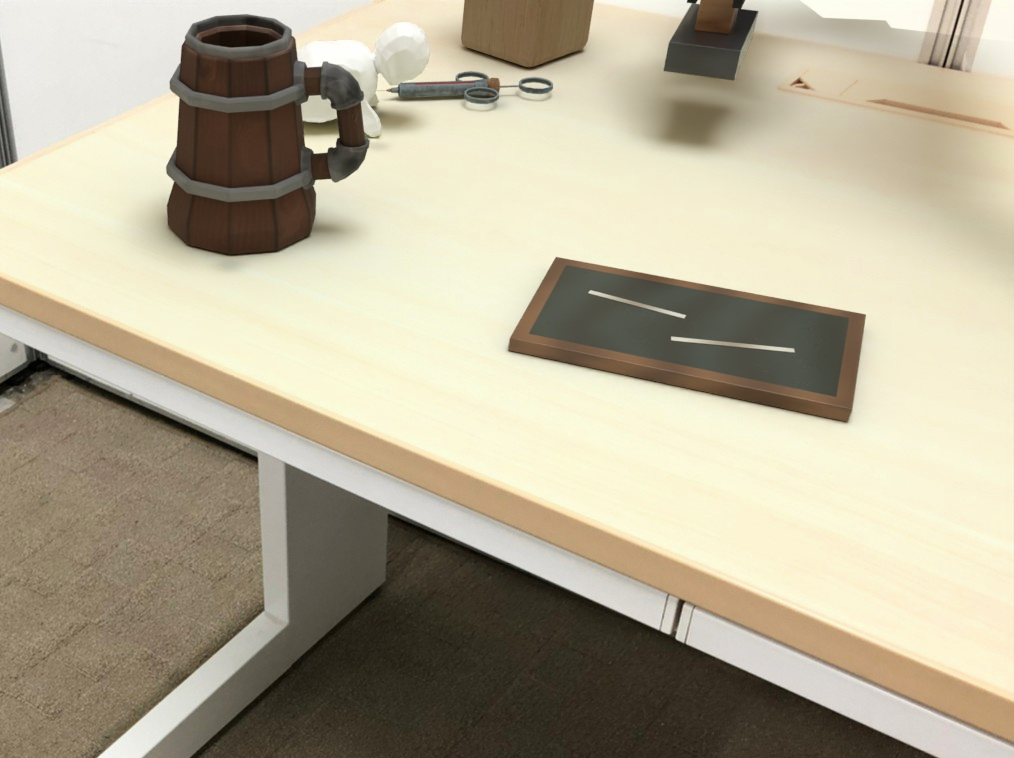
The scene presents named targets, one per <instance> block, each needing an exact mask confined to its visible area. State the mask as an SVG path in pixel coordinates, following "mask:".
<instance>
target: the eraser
mask: <svg viewBox="0 0 1014 758" xmlns="http://www.w3.org/2000/svg"><path fill="white" fill-rule="evenodd" d="M732 5H733V0H699V3H696V4H693V3H690V5H689V8H688V9H687V11H686V12H685V14H684V16H683V18H682V19H681V21H680V23H679V24H678V26H677V28H676V29H675V31H674V33H673V35H672V37H671V38H670V40H669V41H668V45H667V50H666V55H665V60H664V66H663V72H665V73H673V74H674V73H675V74H681V75H682V74H683V75H689V76H696V77H704V78H711V79H719V80H727V81H735V80H736V77H737V74H738V73H739V70H740V68H741V65H742V63H743V62H744V61H743V60H744V58H745V56H746V54H747V52H748V49H749V47H750V45H751V42H752V40H753V37H754V33H755V28H756V24H757V20H758V17H759V16H758V15H759V10H755V9H746V8H741V9H737V8H732Z"/></svg>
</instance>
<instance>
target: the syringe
mask: <svg viewBox="0 0 1014 758" xmlns="http://www.w3.org/2000/svg"><path fill="white" fill-rule="evenodd" d="M463 78H478V79H473V80H462V79H463ZM531 83H535V84H542V85H546V86H548V87H543V88H536V87H535V88H534V87H529V86H525V84H531ZM502 88H503V89H505V88H518V89H519V90H520V91H522V92H523V93H526V94H531V95H544V94H548V93H551V92H552V91H553V88H554V83H553V81H551V80H550V79H548V78H545V77H538V76H531V77H530V76H529V77H525V78H521V79H520V80H519V81H518V84H515V85H514V84H512V85H501V81H500V78H499V77H490V76H489V75H487V74H485V73H484V72H480V71H473V70H469V71H462V72H459V73H457V74H456V75H455V79H454V80H446V81H445V80H442V81H441V80H440V81H410V82H402V83H400V84H398V85H397V86H396V87H395V86H394V87H391V88H388V89H385V90H384V89H383V90H378V89H377V92H384V91H385V92H387V93H391V94H397V96H398V98H420V97H421V98H422V97H424V98H425V97H451V96H452V97H453V96H463V98H464V100H466V101H467V102H469V103H471V104H476V105H489V104H493V103H496V102H497V101H498V100H499V98H500V90H501V89H502ZM473 96H483V97H484V96H485V97H486V96H489V98H480V97H473Z"/></svg>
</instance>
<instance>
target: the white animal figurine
mask: <svg viewBox="0 0 1014 758" xmlns="http://www.w3.org/2000/svg"><path fill="white" fill-rule="evenodd" d="M430 55H431V47H430V45H429V41H428V39H427V35H426V32H425V31H424V30H423V28H421V27H420V26H419V25H417V24H415V23H412V22H408V21H407V22H406V21H399V22H395V23H394V24H392V25H390V26H389V27H387V28H385V30H383V32H381V34H380V35H379V36H378V38H377V40H376V41H375V51H373V52H372V51H371V50H370V48H369V47H368V46H367V45H365V44H364V43H363V42H361V41H358V40H354V39H339V40H337V39H336V40H332V41H329V40H326V41H325V40H324V41H323V40H313V41H310V42H308V43H306V44H304V45H303V46H302V47H300V48H299V49H298V50H297V58H298V61H302V62H305V63H306V65H307V67H322V64H323V61H327V62H328V63H331V64H336V65H339V66H341V67H342V68H344V69H345V70H347V71H348V72H350V73H351V74H352V76H353V77H354V78H355V79H356V80H357V81H358V83H359V86H360V89H361V91H363V93H364V99H363V101H361V108H362V117H363V126H364V134H366V135H367V136H368V137H371V138H377V137H380V135H381V133H382V123H381V119H380V117H379V115H378V114H377V113H376V111H375V110H374V109H373V107H376V106H378V105H379V103H380V101H379V98H378V95H377V91H378V81H379V79H378V75H379V74H381V76H382V77H383V78H384V79H385V81H386V82H387V83H388V85H389V86H391V87H392V86H394V87H395V86H398V84H400V83H405V82H407V81H412V80H415V79H417V78H418V77H419V76H420V75H422V73H423V72H424V71H425V70H426V68H427V66H428V64H429V61H430ZM301 109H302V120H303V122H307V123H318V124H321V123H325V122H330V121H333V120H335V119H336V120H337V112H336V110H335V109H332V108H331V102H330V100H329V99H326V100H322V98H321V95H315V96H309V98H308V101H307V102H304V103H302V104H301Z"/></svg>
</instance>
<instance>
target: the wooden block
mask: <svg viewBox="0 0 1014 758" xmlns="http://www.w3.org/2000/svg"><path fill="white" fill-rule="evenodd" d="M594 3H595V0H464V2H463V12H462V23H461V32H460V33H461V35H460V40H461V44H462V45H463V46H464V47H465V48H468V49H471V50H474V51H477V52H479V53H483V54H485V55H489V56H492V57H495V58H498V59H501V60H504V61H508V62H510V63H514V64H516V65H519V66H523V67H526V68H532V67H536V66H539V65H542V64H545V63H548V62H550V61H553V60H555V59H558V58H561V57H564V56H568V55H569V54H572V53H575V52H578V51H580V50H583V49H584V48H585V47H586V45H587V44H588V41H589V37H590V29H591V23H592V16H593V10H594Z"/></svg>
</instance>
